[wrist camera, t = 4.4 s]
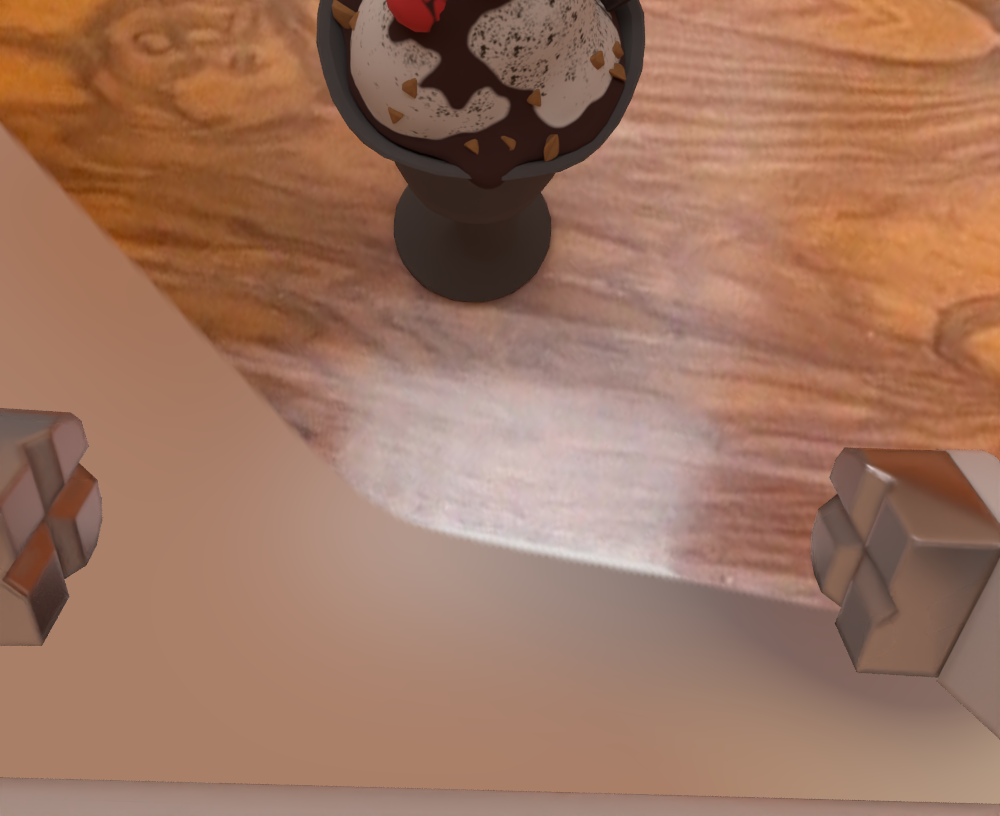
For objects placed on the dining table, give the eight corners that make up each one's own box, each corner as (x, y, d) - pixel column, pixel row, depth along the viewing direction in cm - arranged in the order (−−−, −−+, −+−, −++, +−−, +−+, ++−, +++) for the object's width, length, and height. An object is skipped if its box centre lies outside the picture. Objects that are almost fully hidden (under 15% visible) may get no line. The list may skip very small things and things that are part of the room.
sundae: (357, 324, 27) (237, 8, 12) (377, 124, 28) (289, -382, 13) (572, 340, 27) (712, 48, 12) (581, 140, 28) (716, -339, 14)
